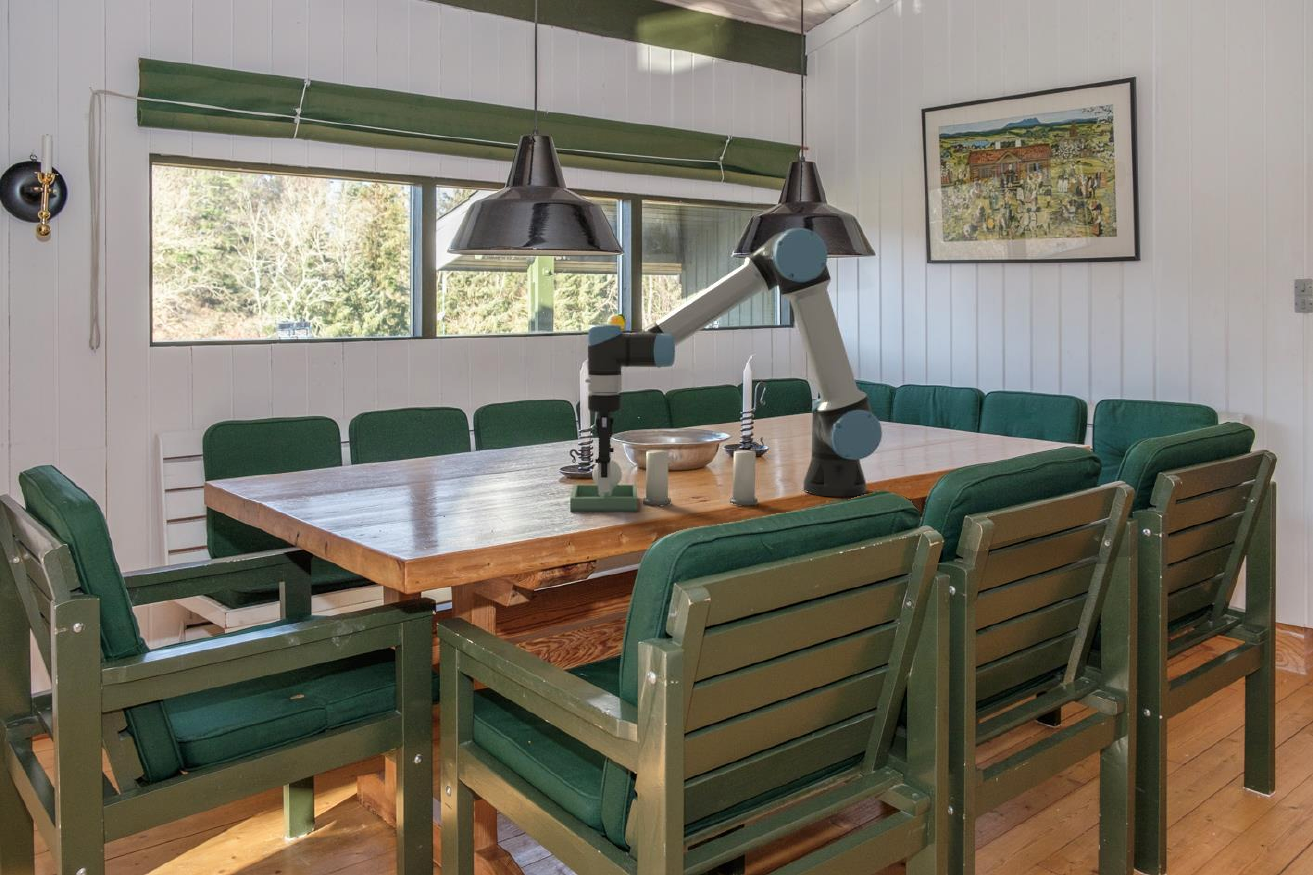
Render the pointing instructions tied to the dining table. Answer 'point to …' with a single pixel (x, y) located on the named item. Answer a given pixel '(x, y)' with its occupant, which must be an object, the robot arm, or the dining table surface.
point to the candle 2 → (744, 478)
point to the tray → (604, 499)
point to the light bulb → (614, 477)
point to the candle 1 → (656, 478)
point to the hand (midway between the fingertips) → (604, 486)
